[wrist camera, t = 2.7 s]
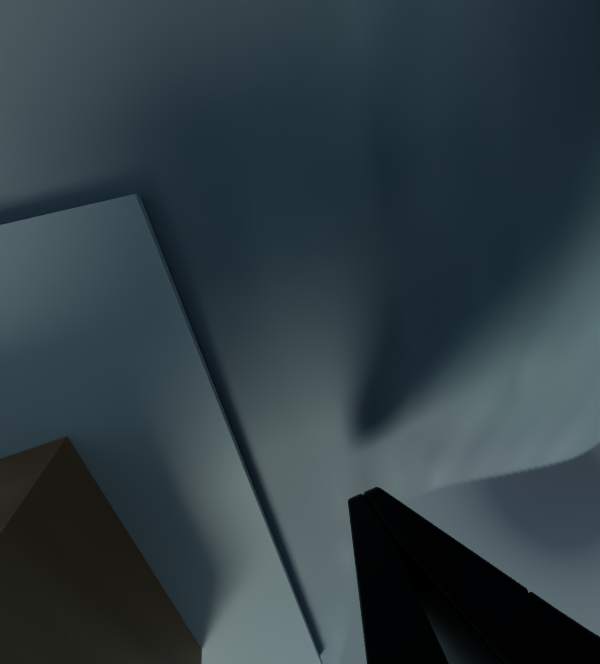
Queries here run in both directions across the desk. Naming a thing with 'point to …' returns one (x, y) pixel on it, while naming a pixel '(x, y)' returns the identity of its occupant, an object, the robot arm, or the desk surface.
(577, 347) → the desk surface
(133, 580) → the tee
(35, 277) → the jig
